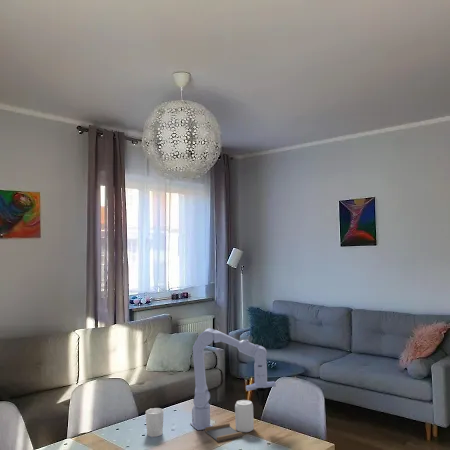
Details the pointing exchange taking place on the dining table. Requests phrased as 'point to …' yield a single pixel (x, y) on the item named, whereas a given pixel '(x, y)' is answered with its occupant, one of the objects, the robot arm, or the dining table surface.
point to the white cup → (154, 422)
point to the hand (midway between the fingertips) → (261, 404)
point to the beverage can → (244, 416)
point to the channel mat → (222, 432)
